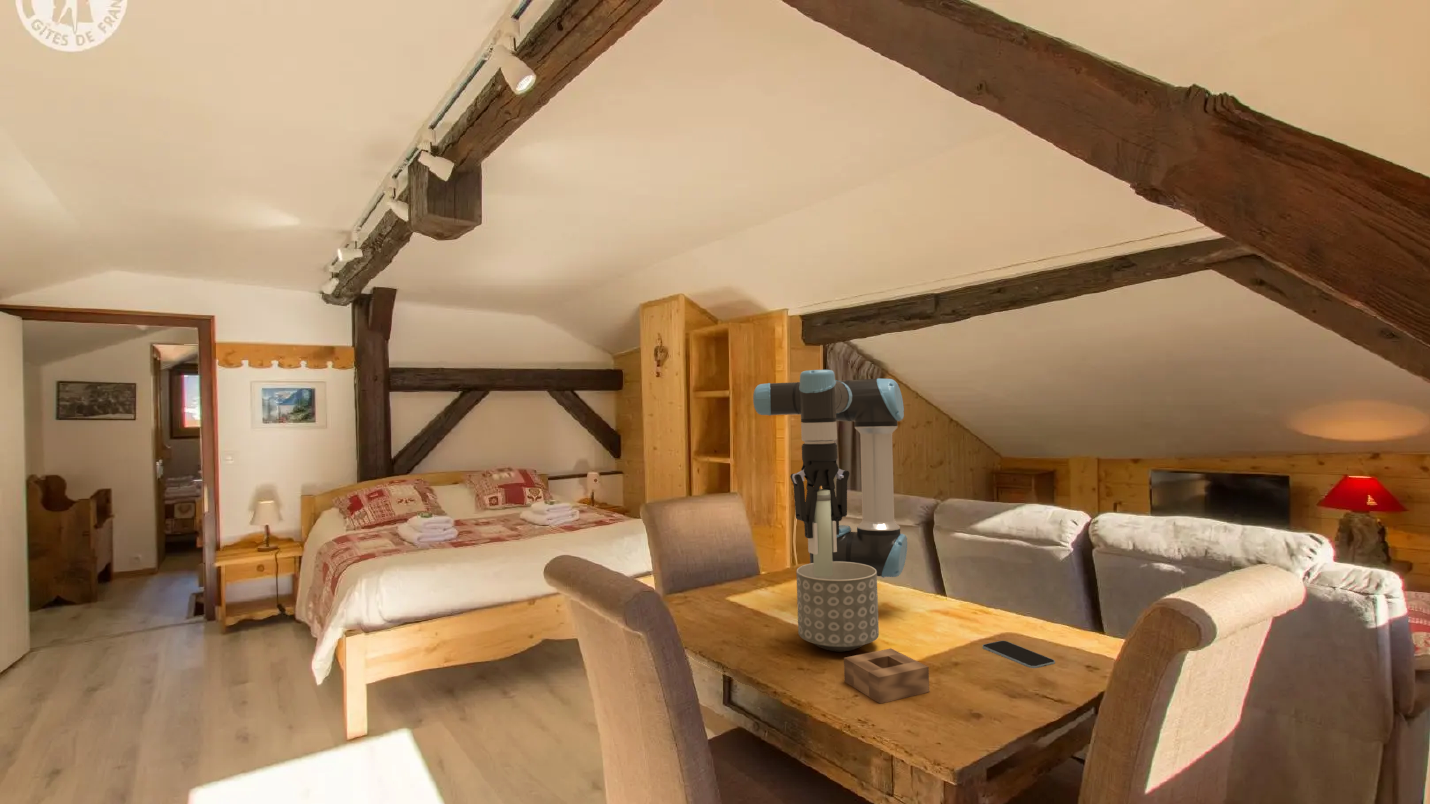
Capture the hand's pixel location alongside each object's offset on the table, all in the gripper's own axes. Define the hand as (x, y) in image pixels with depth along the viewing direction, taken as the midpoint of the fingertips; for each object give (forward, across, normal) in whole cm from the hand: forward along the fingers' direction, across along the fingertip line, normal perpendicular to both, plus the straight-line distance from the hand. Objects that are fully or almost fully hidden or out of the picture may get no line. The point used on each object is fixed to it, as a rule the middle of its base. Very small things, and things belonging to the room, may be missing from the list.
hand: (822, 551), depth 148 cm
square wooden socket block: (+27, -8, +10) cm, 29 cm away
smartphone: (+27, -45, +9) cm, 53 cm away
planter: (+27, -13, -15) cm, 33 cm away
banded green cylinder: (+5, 0, 0) cm, 5 cm away
